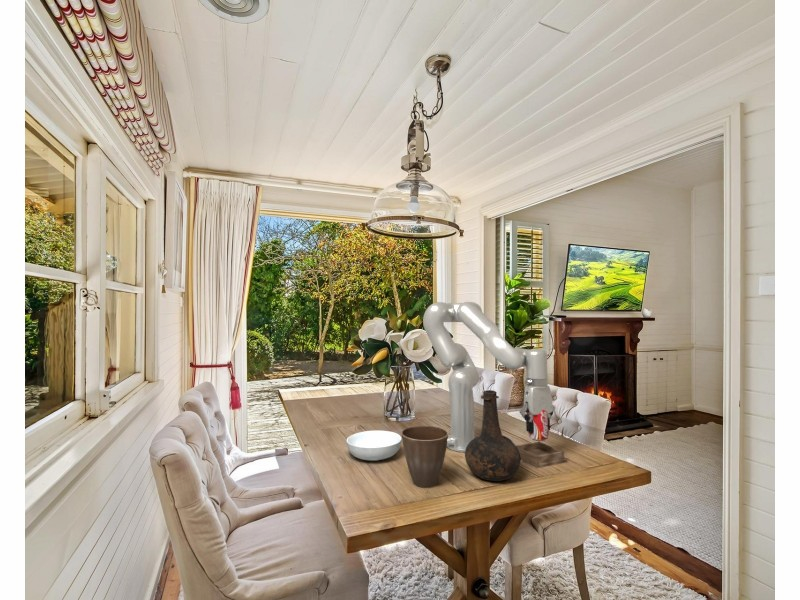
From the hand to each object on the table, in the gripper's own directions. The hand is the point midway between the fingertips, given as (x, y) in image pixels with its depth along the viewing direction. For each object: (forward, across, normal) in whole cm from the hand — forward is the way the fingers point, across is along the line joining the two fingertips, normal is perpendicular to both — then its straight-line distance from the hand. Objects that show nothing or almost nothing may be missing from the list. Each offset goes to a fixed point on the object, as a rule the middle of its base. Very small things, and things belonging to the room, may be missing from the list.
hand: (538, 430), depth 146 cm
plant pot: (+10, -48, -2) cm, 49 cm away
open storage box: (+10, 0, 0) cm, 10 cm away
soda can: (+3, 0, 0) cm, 3 cm away
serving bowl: (+10, -55, +27) cm, 62 cm away
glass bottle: (+10, -25, -6) cm, 28 cm away
